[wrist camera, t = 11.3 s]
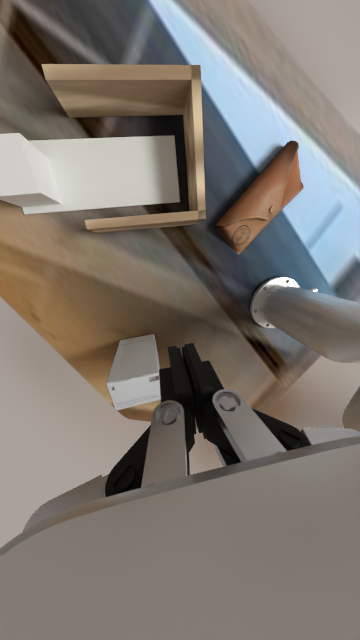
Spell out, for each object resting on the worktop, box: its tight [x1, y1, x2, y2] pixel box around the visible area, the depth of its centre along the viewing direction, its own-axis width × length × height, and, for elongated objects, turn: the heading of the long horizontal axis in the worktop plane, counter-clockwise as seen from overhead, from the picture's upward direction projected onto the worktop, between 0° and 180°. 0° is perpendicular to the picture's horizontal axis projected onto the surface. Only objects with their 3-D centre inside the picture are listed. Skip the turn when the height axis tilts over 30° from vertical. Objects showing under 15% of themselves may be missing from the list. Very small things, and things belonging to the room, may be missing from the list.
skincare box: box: [106, 334, 161, 410], centre depth 34 cm, size 8×6×15 cm
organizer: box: [42, 64, 206, 233], centre depth 26 cm, size 16×18×6 cm
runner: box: [22, 135, 180, 214], centre depth 28 cm, size 26×9×1 cm, turn 95°
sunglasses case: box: [215, 141, 303, 254], centre depth 32 cm, size 18×7×7 cm
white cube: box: [0, 133, 62, 208], centre depth 24 cm, size 6×6×6 cm
